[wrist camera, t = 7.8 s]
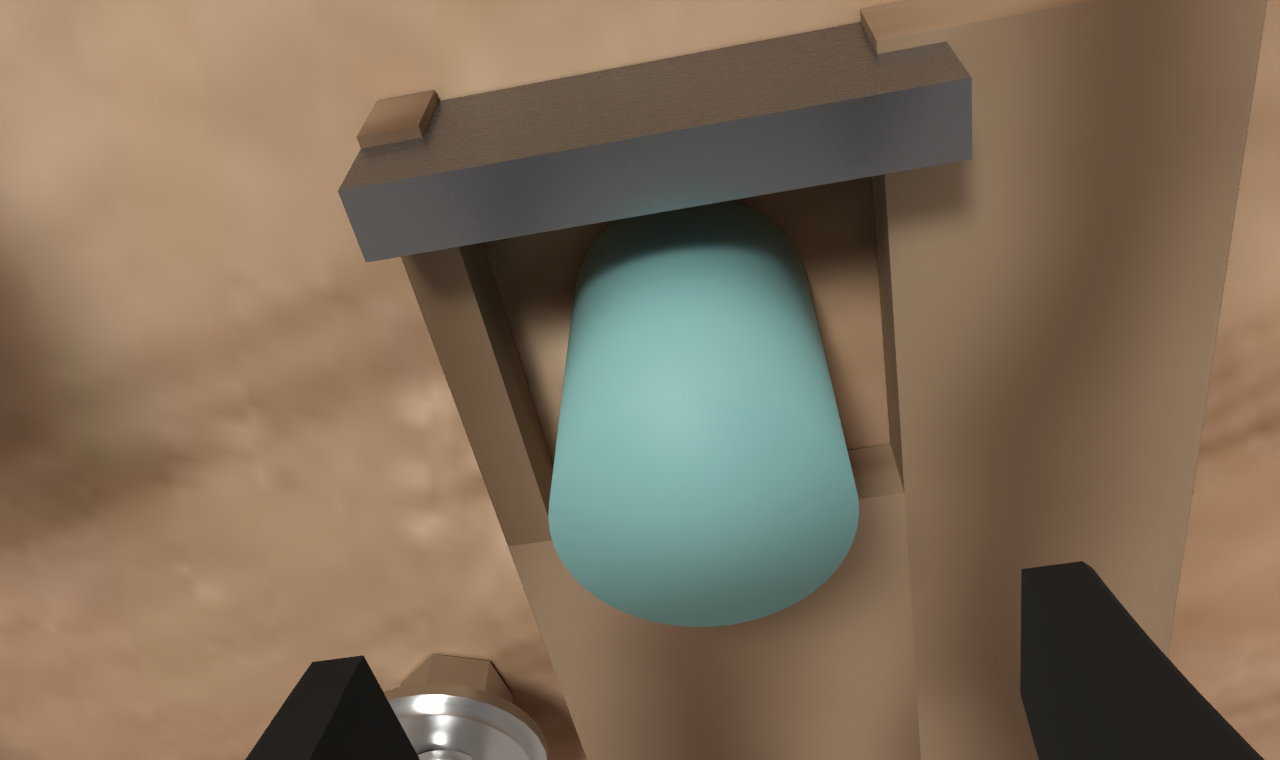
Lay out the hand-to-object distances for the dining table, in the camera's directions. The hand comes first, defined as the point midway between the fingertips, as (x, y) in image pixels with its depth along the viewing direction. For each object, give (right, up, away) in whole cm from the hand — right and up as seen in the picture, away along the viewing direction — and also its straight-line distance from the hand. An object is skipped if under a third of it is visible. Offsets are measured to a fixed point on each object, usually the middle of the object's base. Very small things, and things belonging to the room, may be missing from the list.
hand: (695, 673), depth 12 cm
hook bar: (0, +8, +6) cm, 10 cm away
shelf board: (+4, +1, +11) cm, 12 cm away
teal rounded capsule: (0, +5, +8) cm, 9 cm away
